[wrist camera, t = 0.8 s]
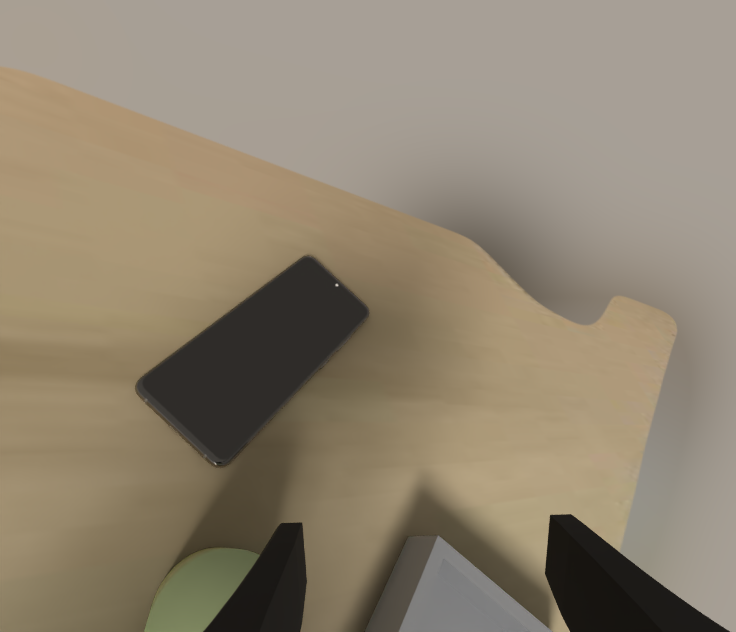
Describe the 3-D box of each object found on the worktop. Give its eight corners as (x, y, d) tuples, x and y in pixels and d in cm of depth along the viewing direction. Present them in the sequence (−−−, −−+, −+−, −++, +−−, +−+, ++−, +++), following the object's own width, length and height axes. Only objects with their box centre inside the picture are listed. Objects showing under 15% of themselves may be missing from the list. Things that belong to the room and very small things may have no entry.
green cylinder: (206, 698, 18) (223, 769, 12) (122, 629, 18) (101, 668, 12) (277, 586, 21) (316, 601, 15) (206, 526, 21) (219, 520, 15)
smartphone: (127, 385, 22) (308, 251, 32) (129, 390, 23) (305, 258, 32) (221, 473, 22) (374, 311, 31) (219, 475, 23) (369, 317, 32)
